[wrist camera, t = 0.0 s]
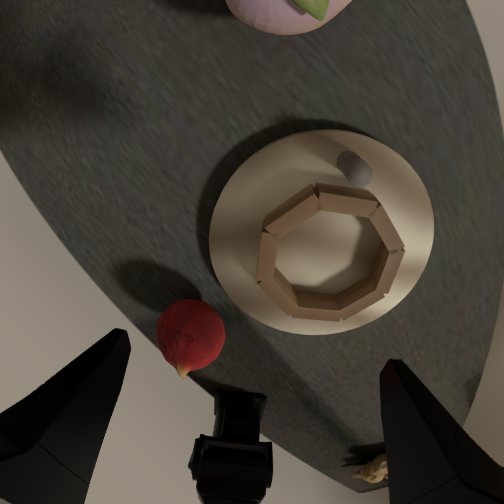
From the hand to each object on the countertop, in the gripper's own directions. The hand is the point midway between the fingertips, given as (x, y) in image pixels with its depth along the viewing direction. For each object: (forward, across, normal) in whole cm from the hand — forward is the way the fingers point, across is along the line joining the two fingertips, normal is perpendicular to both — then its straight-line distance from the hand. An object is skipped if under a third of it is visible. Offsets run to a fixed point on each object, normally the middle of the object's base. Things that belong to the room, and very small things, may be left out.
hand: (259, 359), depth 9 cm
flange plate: (+15, -5, +3) cm, 16 cm away
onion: (+15, +5, +11) cm, 19 cm away
